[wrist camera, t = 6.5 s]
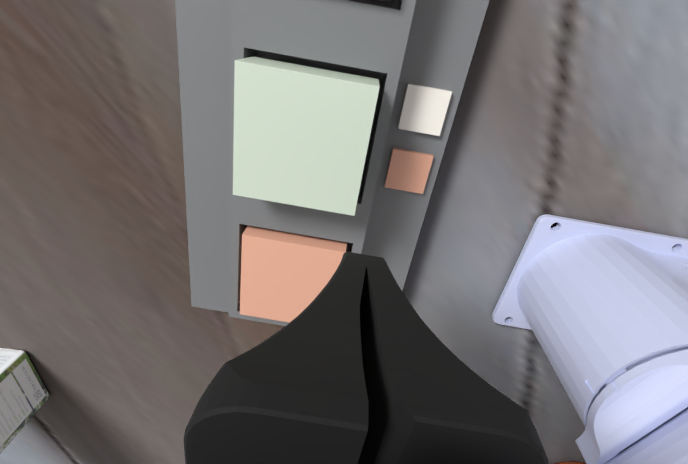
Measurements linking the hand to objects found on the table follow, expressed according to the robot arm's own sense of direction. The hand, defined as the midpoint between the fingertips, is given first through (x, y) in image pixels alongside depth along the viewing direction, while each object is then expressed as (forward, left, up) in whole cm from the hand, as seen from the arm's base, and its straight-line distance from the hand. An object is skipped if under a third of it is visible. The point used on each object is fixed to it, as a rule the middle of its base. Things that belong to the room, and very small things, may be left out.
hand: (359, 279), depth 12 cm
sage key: (+3, -3, -6) cm, 8 cm away
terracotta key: (+3, +5, -8) cm, 10 cm away
